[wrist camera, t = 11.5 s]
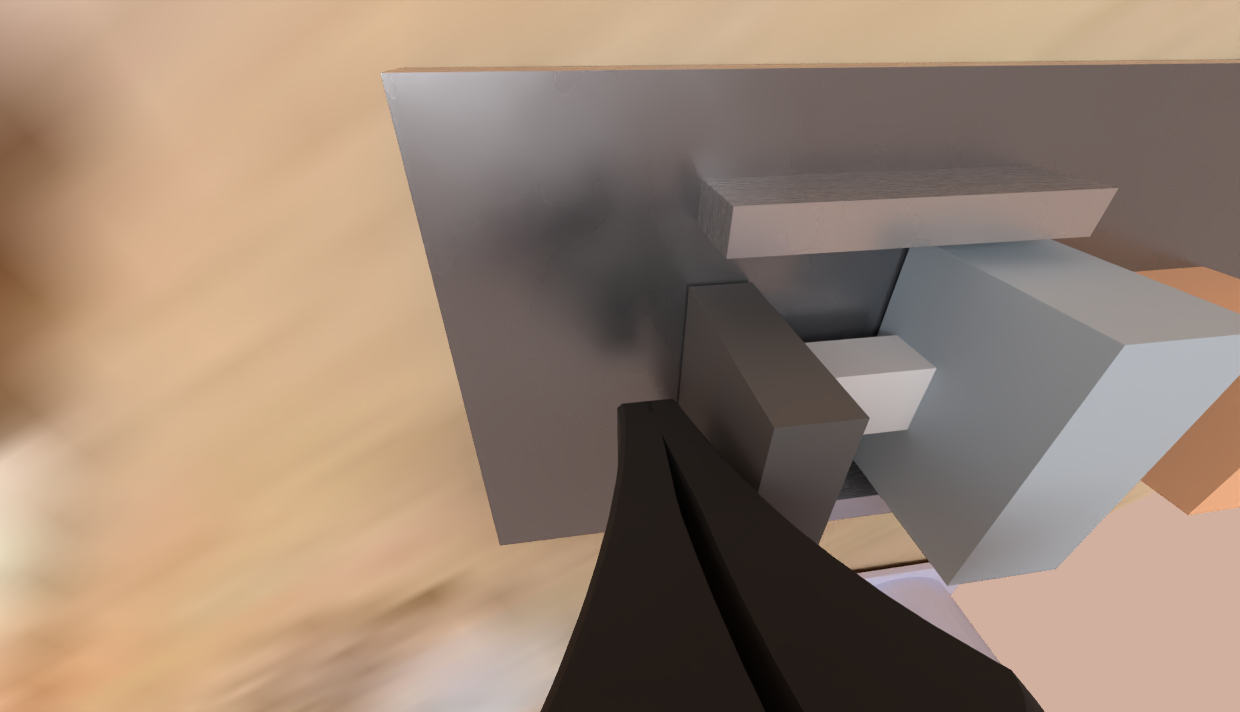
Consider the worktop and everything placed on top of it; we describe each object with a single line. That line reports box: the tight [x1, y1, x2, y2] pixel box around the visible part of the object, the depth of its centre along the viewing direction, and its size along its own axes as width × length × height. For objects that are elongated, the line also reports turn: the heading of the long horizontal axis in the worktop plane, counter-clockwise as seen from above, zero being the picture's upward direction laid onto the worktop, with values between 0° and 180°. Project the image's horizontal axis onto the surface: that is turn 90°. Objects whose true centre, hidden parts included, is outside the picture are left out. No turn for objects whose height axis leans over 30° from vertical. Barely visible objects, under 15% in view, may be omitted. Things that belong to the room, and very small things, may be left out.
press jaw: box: [678, 239, 1240, 586], centre depth 11 cm, size 7×9×5 cm
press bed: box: [381, 59, 1240, 545], centre depth 13 cm, size 14×24×4 cm, turn 90°
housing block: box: [1135, 267, 1240, 515], centre depth 12 cm, size 4×4×6 cm
